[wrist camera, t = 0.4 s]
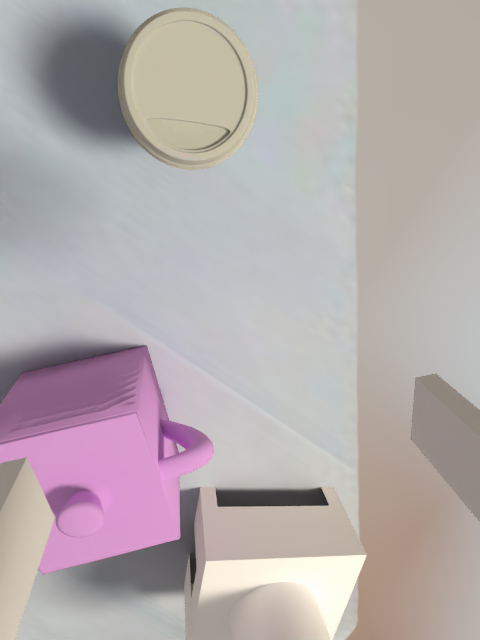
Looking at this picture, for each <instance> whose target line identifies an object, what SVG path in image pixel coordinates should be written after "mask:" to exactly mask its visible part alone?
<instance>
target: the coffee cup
mask: <svg viewBox="0 0 480 640" xmlns="http://www.w3.org/2000/svg"><path fill="white" fill-rule="evenodd" d="M117 86H118V98H119V103H120V107H121V111H122V114H123V117H124V119H125V122H126V124H127V126H128V128H129V130H130V131H131V133H132V135H133V136H134V137H135V139H136V140H137V141H138V143H139V144H140V145H141V146H142V147H143V148H144V149H145V150H146V151H147V152H148V153H149V154H151V155H152V156H153V157H155V158H156V159H158V160H159V161H161V162H163V163H165V164H167V165H170V166H172V167H176V168H180V169H186V170H200V169H206V168H210V167H213V166H215V165H218V164H220V163H222V162H224V161H225V160H227V159H228V158H229V157H231V156H232V155H233V154H234V153H235V152H236V151H237V150H238V149H239V148H240V147H241V146H242V144H243V143H244V141H245V140H246V138H247V137H248V135H249V133H250V131H251V128H252V126H253V123H254V120H255V116H256V111H257V104H258V83H257V77H256V72H255V68H254V65H253V62H252V59H251V57H250V55H249V53H248V51H247V49H246V47H245V45H244V44H243V42H242V41H241V39H240V38H239V37H238V36H237V34H236V33H235V32H234V31H233V30H232V29H231V28H230V27H229V26H228V25H227V24H225V23H224V22H223V21H221V20H220V19H219V18H217V17H215V16H213V15H211V14H209V13H207V12H204V11H201V10H197V9H192V8H174V9H169V10H165V11H162V12H160V13H158V14H155V15H154V16H152V17H150V18H149V19H147V20H146V21H145V22H144V23H142V24H141V25H140V26H139V27H138V28H137V30H136V31H135V32H134V33H133V35H132V36H131V38H130V39H129V41H128V43H127V45H126V47H125V49H124V52H123V54H122V57H121V61H120V65H119V70H118V81H117Z"/></svg>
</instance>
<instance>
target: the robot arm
mask: <svg viewBox="0 0 480 640" xmlns="http://www.w3.org/2000/svg"><path fill="white" fill-rule="evenodd" d="M411 440H412V441H413V442H414V444H415V445H416V446H417V447H418V448H419V450H420V451H421V452H422V453H423V454H424V456H425V457H426V458H427V459H428V460H429V462H430V463H431V464H432V465H433V466H434V468H435V469H436V470H437V471H438V472H439V474H440V475H441V476H442V477H443V478H444V480H445V481H446V482H447V483H448V484H449V485H450V487H451V488H452V489H453V490H454V492H455V493H456V494H457V495H458V496H459V498H460V499H461V500H462V501H463V502H464V504H465V505H466V506H467V507H468V508H469V509H470V511H471V512H472V513H473V514H474V516H475V517H476V518H477V519H478V520H479V521H480V410H479V409H477V408H476V407H475V406H474V405H473V404H471V403H470V402H469V401H468V400H467V399H466V398H464V397H463V396H462V395H461V394H459V393H458V392H457V391H456V390H455V389H454V388H452V387H451V386H450V385H449V384H448V383H446V382H445V381H444V380H443V379H442V378H440V377H439V376H438V375H437V374H432V375H427V376H422V377H417V378H415V389H414V403H413V415H412V429H411ZM54 519H55V516H54V514H53V512H52V510H51V508H50V506H49V504H48V502H47V499H46V497H45V495H44V493H43V491H42V489H41V487H40V485H39V482H38V480H37V478H36V476H35V474H34V472H33V470H32V468H31V465H30V463H29V461H28V459H27V457H26V458H21V459H16V460H12V461H7V462H2V463H1V465H0V640H15V638H16V635H17V632H18V629H19V626H20V623H21V620H22V617H23V614H24V611H25V608H26V605H27V602H28V598H29V595H30V592H31V589H32V586H33V583H34V580H35V577H36V574H37V571H38V568H39V565H40V562H41V559H42V556H43V553H44V550H45V546H46V543H47V540H48V537H49V534H50V531H51V528H52V525H53V522H54Z"/></svg>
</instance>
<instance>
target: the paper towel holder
mask: <svg viewBox="0 0 480 640" xmlns="http://www.w3.org/2000/svg"><path fill="white" fill-rule="evenodd" d="M321 488H322V490H323V493H324V495H325V497H326V499H327V502H328V506H254V507H218V506H217V498H216V490H215V487H200V492H199V498H198V504H197V510H196V516H195V522H194V530H195V548H196V566H197V570H196V575H195V581H194V583H192V584H191V581H190V555H189V558H188V564H187V570H186V576H185V583H184V593H185V635H186V640H332V639H333V637H334V634H335V632H336V629H337V627H338V624H339V622H340V620H341V617H342V615H343V612H344V610H345V607H346V605H347V602H348V600H349V597H350V595H351V593H352V590H353V588H354V585H355V583H356V580H357V578H358V575H359V573H360V570H361V568H362V565H363V563H364V560H365V558H366V556H367V554H366V552H365V550H364V548H363V546H362V544H361V542H360V540H359V537H358V535H357V533H356V531H355V529H354V527H353V525H352V523H351V521H350V519H349V517H348V515H347V513H346V511H345V509H344V507H343V505H342V502H341V500H340V498H339V496H338V494H337V492H336V490H335V488H334V487H321Z"/></svg>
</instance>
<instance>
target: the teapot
mask: <svg viewBox="0 0 480 640" xmlns="http://www.w3.org/2000/svg"><path fill="white" fill-rule="evenodd" d="M176 443H178V444H180V445H181V446H182V447H184V448H185V449H186V450H185V451H183V452H180V453H179V452H178V448H177V445H176ZM213 453H214V448H213V444H212V442H211V441H210V439H209V438H208V437H207V436H206V435H205V434H203V433H202V432H200V431H198V430H196V429H194V428H192V427H189V426H186V425H182V424H179V423H175V422H172V421H169V418H168V415H167V412H166V408H165V405H164V402H163V398H162V395H161V391H160V388H159V385H158V381H157V378H156V375H155V371H154V368H153V365H152V361H151V358H150V355H149V351H148V348H147V345H146V346H142V347H137V348H133V349H128V350H123V351H119V352H114V353H109V354H105V355H100V356H96V357H91V358H86V359H82V360H77V361H72V362H68V363H63V364H59V365H54V366H49V367H45V368H40V369H35V370H31V371H26V372H22V374H21V375H20V377H19V378H18V379H17V381H16V382H15V384H14V385H13V386H12V388H11V389H10V391H9V392H8V394H7V395H6V396H5V398H4V399H3V401H2V402H1V403H0V465H1V463H2V462H7V461H12V460H16V459H21V458H26V457H27V459H28V461H29V463H30V465H31V468H32V470H33V472H34V474H35V476H36V478H37V480H38V482H39V485H40V487H41V489H42V491H43V493H44V495H45V497H46V499H47V502H48V504H49V506H50V508H51V510H52V512H53V514H54V516H55V519H54V522H53V525H52V528H51V531H50V534H49V537H48V540H47V543H46V546H45V550H44V553H43V556H42V559H41V562H40V565H39V570H40V571H41V573H42V574H46V573H49V572H53V571H57V570H61V569H65V568H69V567H73V566H77V565H81V564H85V563H89V562H93V561H97V560H101V559H105V558H109V557H112V556H116V555H120V554H124V553H128V552H132V551H135V550H139V549H143V548H147V547H150V546H154V545H158V544H162V543H166V542H170V541H174V540H179V538H180V486H179V476H181V475H184V474H187V473H189V472H192V471H194V470H196V469H198V468H200V467H202V466H203V465H205V464H206V463H208V461H209V460H210V459H211V458H212V456H213Z"/></svg>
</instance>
